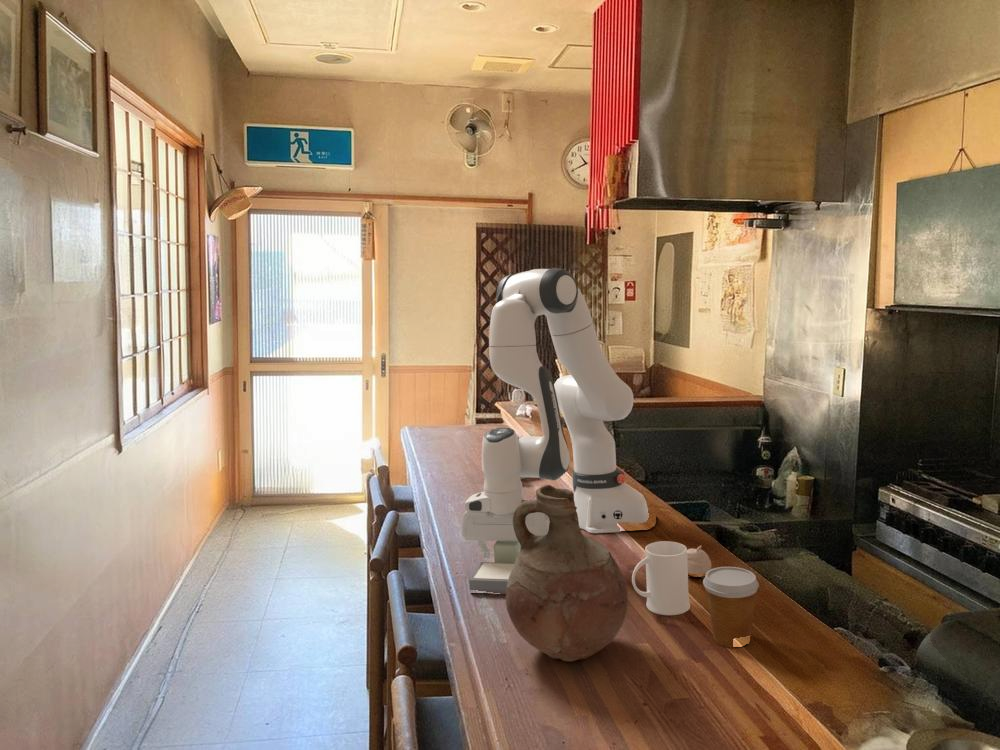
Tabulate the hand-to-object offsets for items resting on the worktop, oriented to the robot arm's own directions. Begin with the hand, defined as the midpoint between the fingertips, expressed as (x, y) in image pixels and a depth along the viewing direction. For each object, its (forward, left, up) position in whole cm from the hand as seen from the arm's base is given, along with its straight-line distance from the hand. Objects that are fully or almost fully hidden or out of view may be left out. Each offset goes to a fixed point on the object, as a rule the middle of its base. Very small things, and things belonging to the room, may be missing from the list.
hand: (507, 558), depth 180 cm
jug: (-20, +37, -2) cm, 42 cm away
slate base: (0, +10, -2) cm, 10 cm away
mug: (-35, +18, -2) cm, 39 cm away
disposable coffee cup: (-48, +30, -2) cm, 57 cm away
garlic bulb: (-42, +2, -2) cm, 42 cm away
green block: (0, 0, -2) cm, 2 cm away
